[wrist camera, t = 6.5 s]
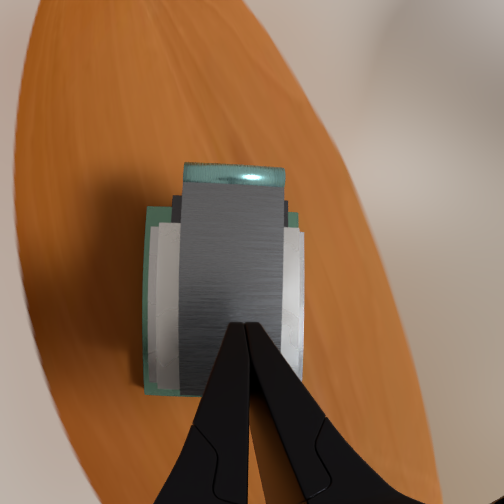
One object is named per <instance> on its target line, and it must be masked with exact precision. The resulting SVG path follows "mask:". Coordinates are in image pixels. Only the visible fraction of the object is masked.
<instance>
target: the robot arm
mask: <svg viewBox="0 0 504 504" xmlns="http://www.w3.org/2000/svg"><path fill="white" fill-rule="evenodd" d="M325 416H326V415H325V413H324V412H323V411H322V409H321V408H320V407H319V405H318V404H317V402H316V401H315V400H314V398H313V397H312V396H311V394H310V393H309V391H308V390H307V389H306V387H305V386H304V385H303V383H302V382H301V380H300V379H299V378H298V376H297V375H296V373H295V372H294V371H293V369H292V368H291V366H290V365H289V364H288V362H287V361H286V359H285V358H284V357H283V355H282V354H281V352H280V351H279V349H278V348H277V347H276V345H275V344H274V342H273V341H272V339H271V338H270V337H269V335H268V334H267V332H266V331H265V329H264V328H263V327H262V325H261V324H260V323H259V322H245V323H243V322H229V323H228V326H227V329H226V331H225V334H224V337H223V340H222V342H221V345H220V348H219V351H218V354H217V356H216V359H215V362H214V365H213V367H212V370H211V373H210V376H209V378H208V381H207V384H206V387H205V389H204V392H203V395H202V398H201V401H200V403H199V406H198V409H197V412H196V414H195V417H194V420H193V425H191V428H190V430H189V433H188V436H187V439H186V441H185V443H184V446H183V448H182V451H181V453H180V455H179V457H178V459H177V461H176V463H175V465H174V467H173V469H172V471H171V473H170V475H169V477H168V478H167V480H166V482H165V484H164V486H163V487H162V489H161V491H160V493H159V494H158V496H157V498H156V500H155V501H154V503H153V504H248V456H249V425H250V430H251V435H252V439H253V444H254V449H255V454H256V459H257V464H258V468H259V473H260V478H261V482H262V487H263V491H264V496H265V500H266V504H425V503H422V502H420V501H417V500H415V499H412V498H410V497H407V496H405V495H403V494H401V493H400V492H398V491H396V490H395V489H394V488H392V487H391V486H390V485H389V484H388V483H386V482H385V481H384V480H383V479H382V478H381V477H380V476H379V475H378V474H377V473H376V472H375V471H374V470H373V469H372V468H371V467H370V466H369V465H368V464H367V463H366V462H365V461H364V460H363V459H362V458H361V457H360V456H359V455H358V454H357V453H356V452H355V450H354V449H353V448H352V447H351V446H350V445H349V444H348V443H347V442H346V441H345V439H344V438H343V437H342V436H341V434H340V433H339V432H338V431H337V429H336V428H335V427H334V425H333V424H332V423H331V421H330V420H329V419H328V417H325ZM490 504H504V496H502V497H501V498H499V499H497V500H495V501H494V502H492V503H490Z"/></svg>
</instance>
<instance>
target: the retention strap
mask: <svg viewBox="0 0 504 504" xmlns="http://www.w3.org/2000/svg"><path fill="white" fill-rule="evenodd" d="M284 186H285V169H284V168H279V167H267V166H253V165H238V164H219V163H196V162H185V163H184V172H183V191H182V208H181V228H180V253H179V301H178V334H179V381H180V395H192V396H202V395H203V392H204V389H205V387H206V384H207V381H208V378H209V376H210V373H211V370H212V367H213V365H214V362H215V359H216V356H217V354H218V351H219V348H220V345H221V342H222V340H223V337H224V334H225V331H226V329H227V326H228V323H229V322H243V323H245V322H259V323H260V324H261V325H262V327H263V328H264V329H265V331H266V332H267V334H268V335H269V337H270V338H271V339H272V341H273V342H274V344H275V345H276V347H277V348H278V349H279V351H280V352H281V330H282V298H283V252H284Z"/></svg>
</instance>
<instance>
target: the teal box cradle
mask: <svg viewBox="0 0 504 504" xmlns="http://www.w3.org/2000/svg"><path fill="white" fill-rule="evenodd" d="M181 208H182V196H179V195H173V199H172V207H152V206H147V213H146V227H145V242H144V262H143V296H142V341H143V374H144V393H145V395H160V396H183V397H202V396H192V395H180V381H179V334H178V301H179V253H180V228H181ZM303 337H304V232H299V228H298V213H296V212H288V201H284V252H283V298H282V330H281V354H282V355H283V357H284V358H285V359H286V361H287V362H288V364H289V365H290V366H291V368H292V369H293V371H294V372H295V373H296V375H297V376H298V378H299V379H300V380H301V381H302V371H303Z"/></svg>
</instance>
